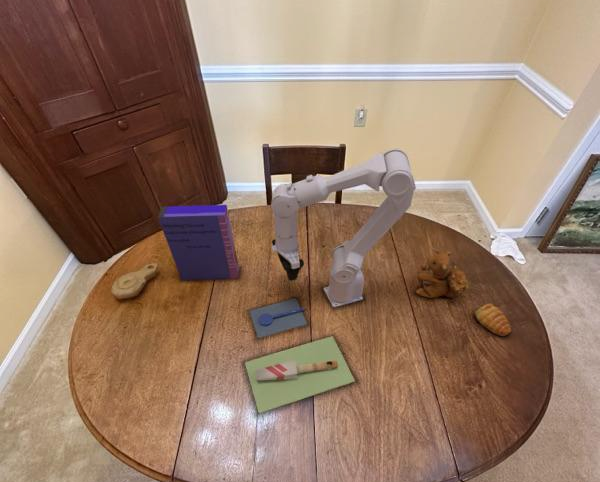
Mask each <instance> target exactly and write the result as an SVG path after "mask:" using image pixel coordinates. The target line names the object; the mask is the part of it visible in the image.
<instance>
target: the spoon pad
mask: <svg viewBox="0 0 600 482" xmlns="http://www.w3.org/2000/svg"><path fill="white" fill-rule="evenodd" d="M298 308H301V306H300V304H299V302H298V300H297V298H291V299H288V300H284V301H280V302H277V303H273V304H269V305H265V306H262V307H258V308H254V309H251V310H249V314H250V317H251V321H252V323H253V326H254V330H255V334H256V336H257V338H258V339H261V338H264V337H267V336H271V335H274V334H278V333H281V332H285V331H288V330H291V329H296V328H299V327H303V326H307V325H308V322H307V320H306V318H305V315H304V313H303V311H301V312H297V313H294V314H290V315H286V316H283V317H279V318H276V319H273V322H272V324H270V325H269V326H262V325H260V324H259V321H258V318H259V316H260V315H261V314H264V313H268V314H270V315H272V316H273V315H277V314H280V313H284V312H288V311H291V310H295V309H298Z"/></svg>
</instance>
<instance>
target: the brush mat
mask: <svg viewBox="0 0 600 482" xmlns="http://www.w3.org/2000/svg"><path fill="white" fill-rule="evenodd" d="M292 360H295V362H296V366H298V365H306V364H313V363H320V362H327V361H334V360H337V363H338V368H332V369H325V370H318V371H311V372H304V373H298V374H297V380H257V379H256V370H258V369H261V368H265V367H269V366H273V365H277V364H281V363H285V362H288V361H292ZM244 365H245V368H246V372H247V375H248V380H249V384H250V387H251V390H252V394H253V398H254V401H255V405H256V409H257V412H258V415H260V414H263V413H265V412H269V411H272V410H275V409H278V408H280V407H284V406H287V405H289V404H293V403H296V402H299V401H302V400H305V399H307V398H310V397H314V396H317V395H320V394H323V393H326V392H329V391H332V390H335V389H338V388H341V387H343V386H346V385H349V384H352V383H355V382H356V380H355V378H354V376H353V374H352V372H351V370H350V368H349V365H348V364H347V362H346V360H345V358H344V355H343V354H342V351H341V350H340V348H339V346H338V343H337V342H336V340H335V338H334V336H333V335H331V336H327V337H324V338H320V339H317V340H315V341H311V342H308V343H307V342H306V343H304V344H301V345H297V346H295V347H291V348H288V349H285V350H281V351H278V352H274V353H271V354H267V355H264V356H261V357H257V358H254V359H251V360H248V361H245V362H244ZM327 365H328V366H331V365H330V364H327Z"/></svg>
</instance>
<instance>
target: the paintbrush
mask: <svg viewBox="0 0 600 482" xmlns="http://www.w3.org/2000/svg"><path fill="white" fill-rule="evenodd" d="M327 364H330V365H331V366H328V365H327ZM332 368H338V363H337V360H334V361H327V362H320V363H313V364H306V365H298V366H296V362H295V360H292V361H288V362H285V363H281V364H277V365H273V366H269V367H265V368H261V369H258V370H256V379H257V380H297V374H298V373H304V372H311V371H318V370H325V369H332Z"/></svg>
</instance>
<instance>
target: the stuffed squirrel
mask: <svg viewBox="0 0 600 482" xmlns="http://www.w3.org/2000/svg"><path fill="white" fill-rule="evenodd" d="M451 254H452V253H451V252H450V251H447V252H445V253H437V254H433V255H430V256H428V257H427V259H426V262H423V263H421V264H420V270H421V272H420V273H418V274H417V280H418V281H422V286H423V287H420V288H418V289H417V290H416V291H415V293H416V295H417V296H420V297H424V298H428V299H435V298H439V297H441V296H444V297H447V298H448V297H449V298H454V297H458V296H459V295H460V294H462V293H464V292H466V291H467V290H468V289H469V286H470V283H469V280H468V279H467V276H466V274H465V273H464V272H463V271H462V270H460V269H457V268H454V269H450V262H451V260H450V259H451V258H450V256H451Z"/></svg>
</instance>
